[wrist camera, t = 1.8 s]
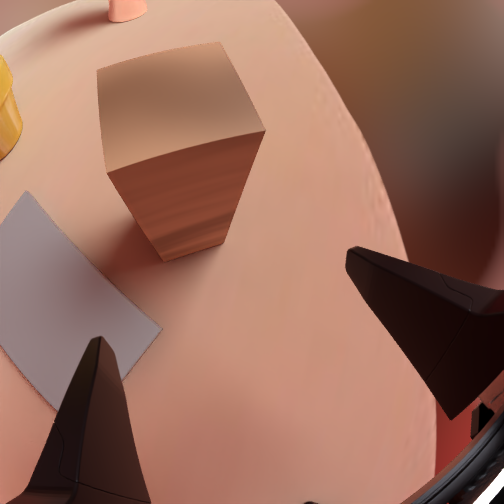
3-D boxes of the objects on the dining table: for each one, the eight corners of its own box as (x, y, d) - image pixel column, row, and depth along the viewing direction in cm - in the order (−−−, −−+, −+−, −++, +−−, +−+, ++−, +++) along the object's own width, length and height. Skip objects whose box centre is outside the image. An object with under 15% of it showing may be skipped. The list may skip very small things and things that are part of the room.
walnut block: (223, 242, 23) (265, 130, 8) (164, 262, 22) (106, 172, 7) (204, 188, 23) (219, 41, 9) (148, 205, 22) (97, 69, 8)
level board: (163, 328, 21) (161, 329, 19) (86, 428, 17) (81, 433, 16) (31, 195, 20) (26, 190, 19) (-29, 288, 17) (-36, 286, 16)
